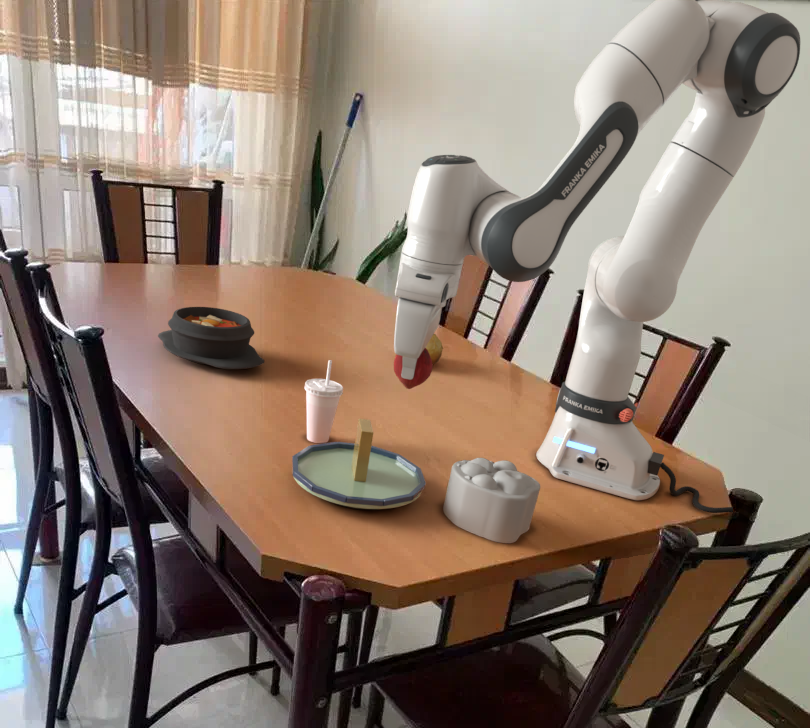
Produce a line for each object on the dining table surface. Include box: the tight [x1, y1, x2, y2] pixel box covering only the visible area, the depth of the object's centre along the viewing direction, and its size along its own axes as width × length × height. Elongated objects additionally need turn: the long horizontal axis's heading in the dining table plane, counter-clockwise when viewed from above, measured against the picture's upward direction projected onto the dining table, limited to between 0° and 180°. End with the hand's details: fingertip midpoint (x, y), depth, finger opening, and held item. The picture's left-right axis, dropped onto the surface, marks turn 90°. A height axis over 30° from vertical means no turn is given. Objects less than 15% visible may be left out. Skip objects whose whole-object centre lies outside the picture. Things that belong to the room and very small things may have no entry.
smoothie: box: [303, 359, 344, 444], centre depth 134 cm, size 6×6×14 cm
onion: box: [393, 348, 434, 390], centre depth 121 cm, size 6×6×8 cm
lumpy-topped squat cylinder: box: [442, 457, 541, 544], centre depth 119 cm, size 10×13×9 cm
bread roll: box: [426, 333, 444, 365], centre depth 185 cm, size 13×10×8 cm
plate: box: [291, 418, 427, 510], centre depth 120 cm, size 20×20×9 cm
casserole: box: [157, 306, 265, 370], centre depth 163 cm, size 25×19×8 cm
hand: (411, 371), depth 121 cm, fingers closed on onion, 6 cm apart
